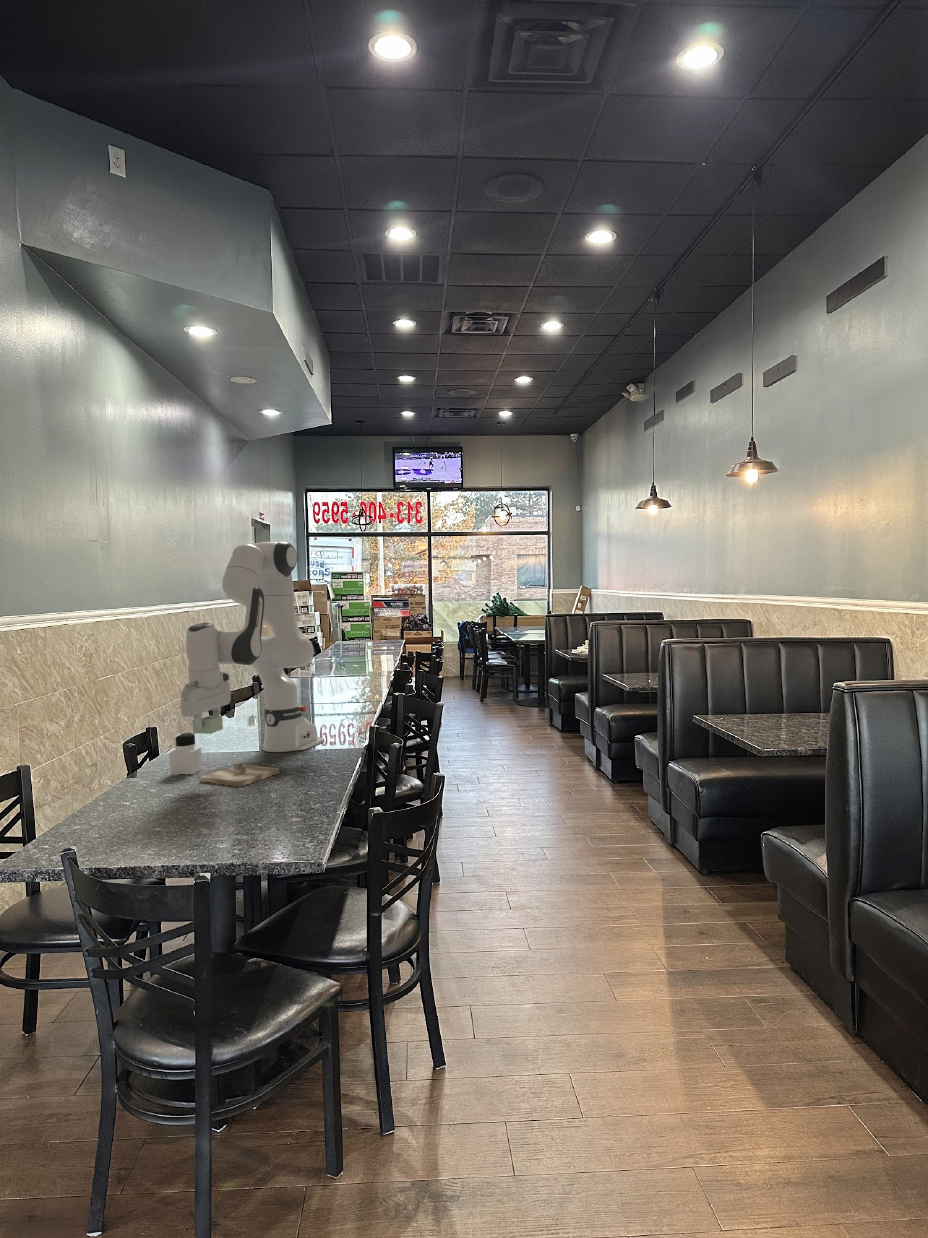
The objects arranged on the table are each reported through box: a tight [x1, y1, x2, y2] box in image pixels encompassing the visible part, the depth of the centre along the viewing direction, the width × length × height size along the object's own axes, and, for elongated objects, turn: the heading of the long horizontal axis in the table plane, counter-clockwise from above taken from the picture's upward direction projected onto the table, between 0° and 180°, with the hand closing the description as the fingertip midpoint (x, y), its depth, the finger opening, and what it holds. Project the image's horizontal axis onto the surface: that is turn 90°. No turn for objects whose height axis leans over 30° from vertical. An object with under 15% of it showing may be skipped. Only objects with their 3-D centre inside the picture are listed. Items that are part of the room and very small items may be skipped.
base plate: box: [199, 761, 280, 788], centre depth 235 cm, size 16×16×4 cm
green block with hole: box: [191, 715, 224, 735], centre depth 232 cm, size 6×6×4 cm
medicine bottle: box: [169, 732, 203, 776], centre depth 245 cm, size 7×7×12 cm
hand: (208, 725), depth 232 cm, fingers closed on green block with hole, 6 cm apart
